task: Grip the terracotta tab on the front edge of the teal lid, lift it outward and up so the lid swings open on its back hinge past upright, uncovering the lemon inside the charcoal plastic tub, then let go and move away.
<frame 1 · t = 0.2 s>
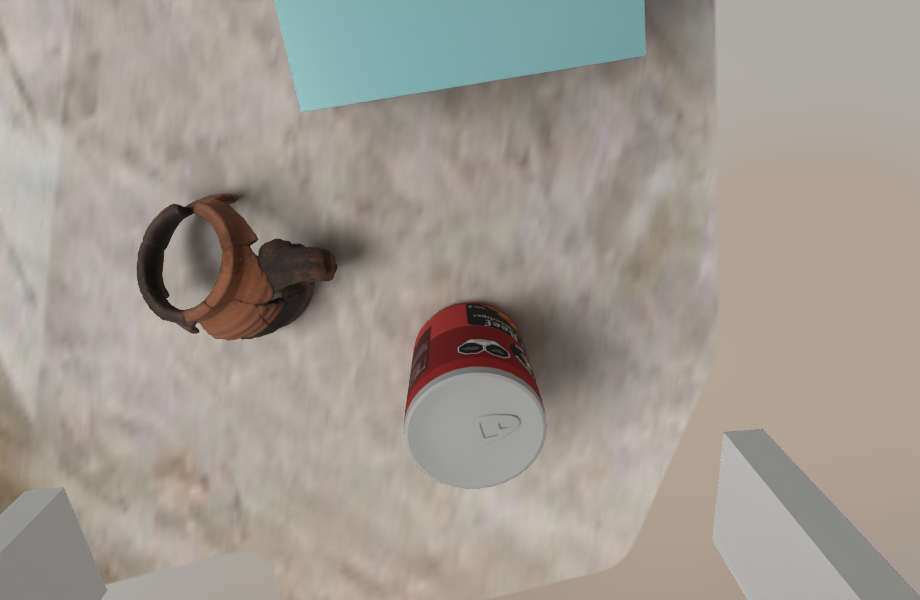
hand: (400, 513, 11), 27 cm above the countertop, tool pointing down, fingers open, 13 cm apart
canned food: (468, 346, 40), on the countertop
broken clay pot: (263, 258, 38), on the countertop
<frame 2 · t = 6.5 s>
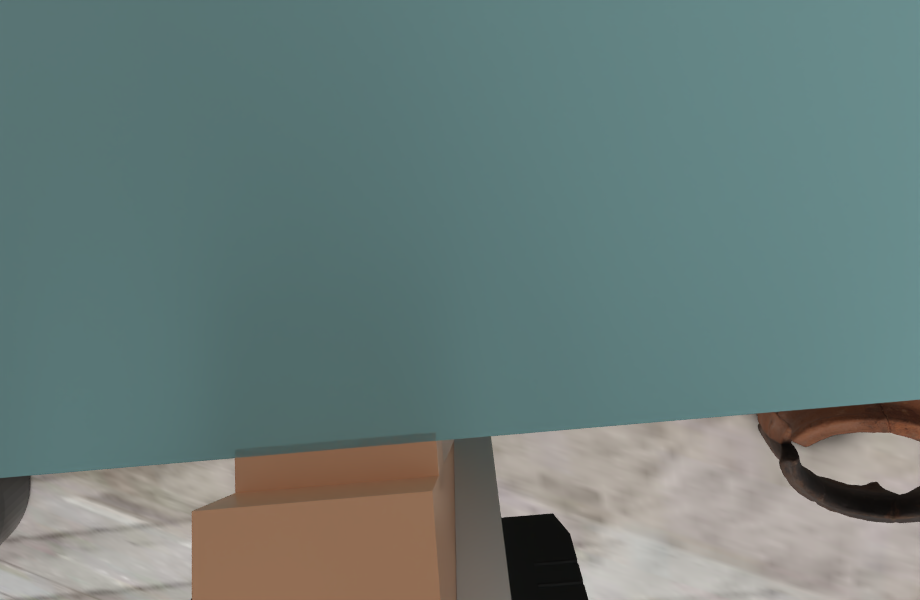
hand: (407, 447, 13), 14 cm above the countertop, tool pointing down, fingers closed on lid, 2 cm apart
broken clay pot: (838, 360, 29), on the countertop
lid: (367, 192, 10), point 14 cm above the countertop, hinge at 31.0°, touching gripper
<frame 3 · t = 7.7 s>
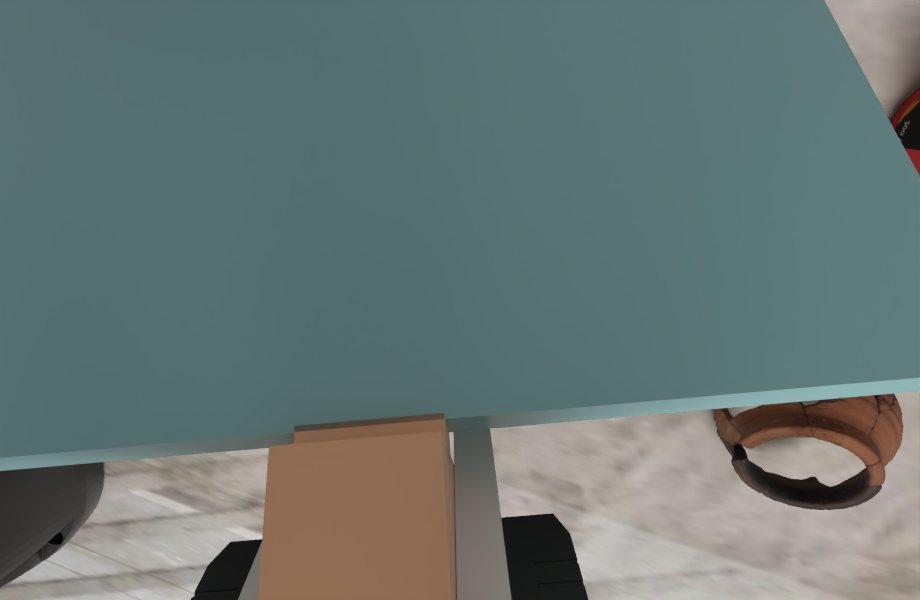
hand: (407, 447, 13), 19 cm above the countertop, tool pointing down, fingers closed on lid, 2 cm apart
broken clay pot: (784, 376, 34), on the countertop
lid: (394, 274, 13), point 17 cm above the countertop, hinge at 46.6°, touching gripper
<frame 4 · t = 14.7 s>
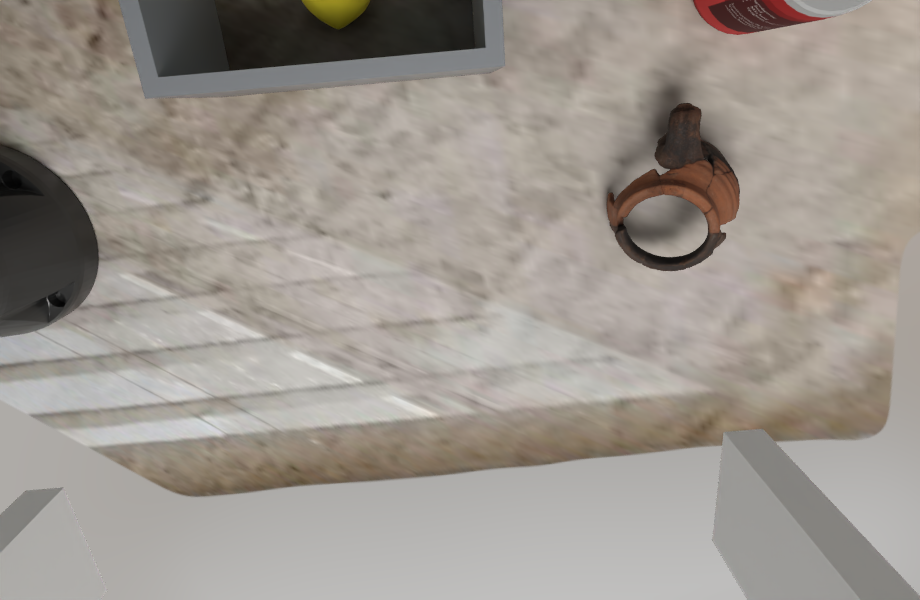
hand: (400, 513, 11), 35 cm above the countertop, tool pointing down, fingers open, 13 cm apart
broken clay pot: (662, 180, 44), on the countertop
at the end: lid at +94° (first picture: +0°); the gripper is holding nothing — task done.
